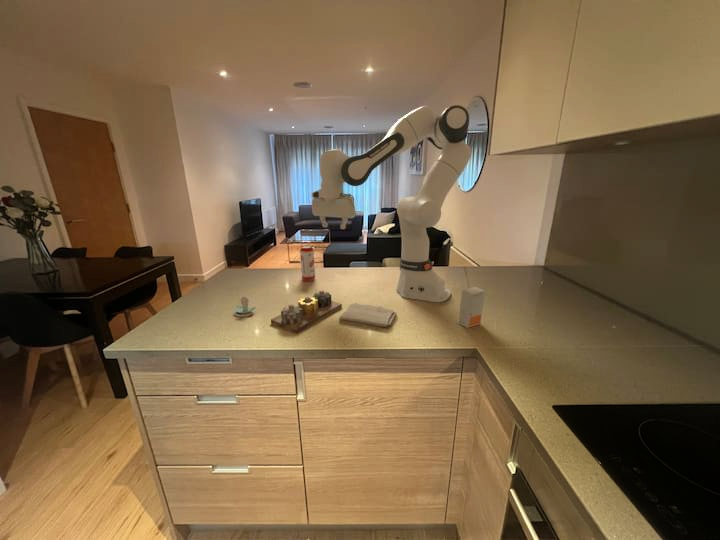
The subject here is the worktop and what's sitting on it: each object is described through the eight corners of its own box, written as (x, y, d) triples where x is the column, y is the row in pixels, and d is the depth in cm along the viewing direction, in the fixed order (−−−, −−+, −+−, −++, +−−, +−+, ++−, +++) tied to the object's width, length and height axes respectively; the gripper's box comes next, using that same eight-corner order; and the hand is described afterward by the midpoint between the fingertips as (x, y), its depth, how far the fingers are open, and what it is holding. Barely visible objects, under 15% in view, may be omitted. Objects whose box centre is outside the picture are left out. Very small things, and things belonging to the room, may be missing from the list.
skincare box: (467, 328, 93) (472, 294, 89) (457, 323, 96) (461, 289, 93) (481, 324, 95) (485, 290, 92) (471, 319, 99) (475, 286, 95)
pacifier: (249, 319, 101) (258, 311, 106) (246, 302, 99) (255, 295, 104) (230, 317, 102) (240, 309, 108) (227, 301, 100) (237, 294, 106)
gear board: (341, 307, 108) (341, 291, 106) (296, 333, 90) (294, 314, 88) (317, 300, 115) (317, 285, 113) (271, 323, 97) (269, 305, 95)
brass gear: (322, 310, 103) (321, 299, 102) (308, 317, 98) (308, 306, 96) (308, 305, 107) (307, 295, 105) (294, 312, 101) (294, 301, 100)
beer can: (316, 277, 142) (314, 245, 137) (313, 281, 136) (311, 248, 131) (304, 276, 142) (302, 245, 138) (300, 281, 136) (298, 248, 132)
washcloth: (389, 332, 92) (390, 323, 91) (337, 323, 97) (337, 315, 96) (397, 316, 102) (397, 308, 102) (350, 309, 108) (350, 301, 107)
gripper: (358, 193, 112) (359, 228, 117) (318, 192, 123) (320, 225, 128) (348, 194, 107) (349, 231, 112) (308, 193, 118) (310, 227, 123)
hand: (333, 227), depth 120 cm, fingers open, 8 cm apart
